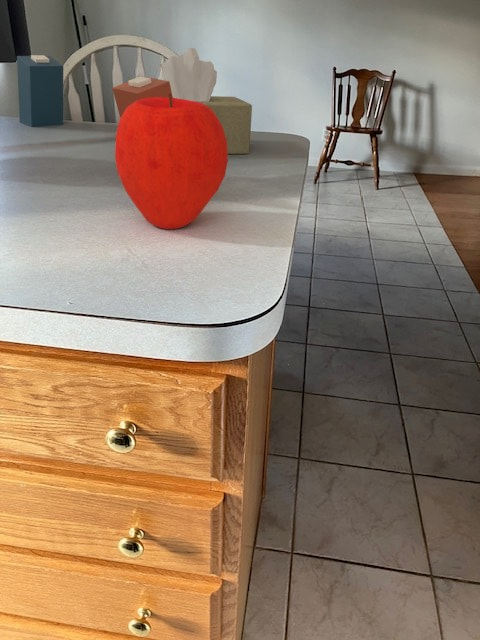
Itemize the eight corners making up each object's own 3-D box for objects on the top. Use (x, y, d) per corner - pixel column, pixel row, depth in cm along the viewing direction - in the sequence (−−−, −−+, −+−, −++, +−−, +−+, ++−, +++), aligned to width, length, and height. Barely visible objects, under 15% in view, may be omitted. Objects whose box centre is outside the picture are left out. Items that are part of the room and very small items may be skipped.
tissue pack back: (63, 62, 93) (50, 52, 95) (29, 62, 89) (16, 52, 92) (63, 133, 101) (50, 122, 103) (31, 136, 97) (19, 124, 100)
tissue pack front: (136, 88, 66) (168, 76, 68) (110, 82, 70) (141, 71, 72) (159, 184, 74) (188, 170, 76) (135, 174, 78) (163, 161, 80)
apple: (247, 228, 60) (255, 99, 54) (160, 251, 53) (157, 105, 46) (181, 201, 67) (181, 85, 61) (98, 218, 60) (87, 88, 54)
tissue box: (234, 142, 101) (239, 48, 94) (251, 154, 93) (257, 52, 86) (133, 143, 96) (129, 43, 88) (141, 155, 88) (137, 47, 80)
